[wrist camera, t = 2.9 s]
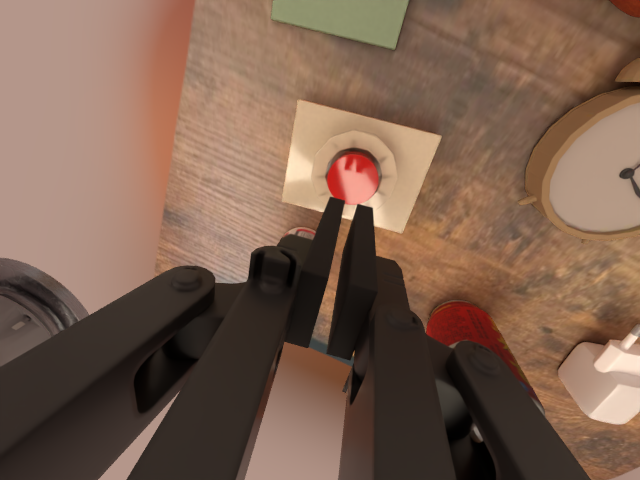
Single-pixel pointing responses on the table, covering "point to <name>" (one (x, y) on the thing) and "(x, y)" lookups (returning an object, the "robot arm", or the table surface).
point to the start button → (353, 177)
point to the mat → (346, 18)
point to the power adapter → (605, 378)
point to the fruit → (628, 6)
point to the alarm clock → (592, 166)
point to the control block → (365, 136)
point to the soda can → (474, 336)
